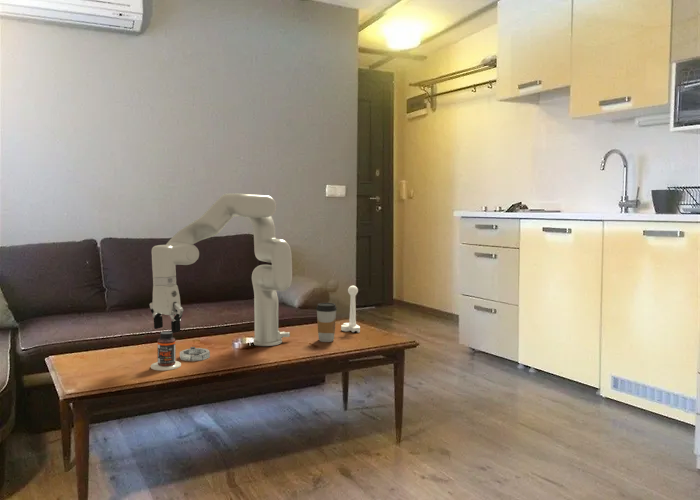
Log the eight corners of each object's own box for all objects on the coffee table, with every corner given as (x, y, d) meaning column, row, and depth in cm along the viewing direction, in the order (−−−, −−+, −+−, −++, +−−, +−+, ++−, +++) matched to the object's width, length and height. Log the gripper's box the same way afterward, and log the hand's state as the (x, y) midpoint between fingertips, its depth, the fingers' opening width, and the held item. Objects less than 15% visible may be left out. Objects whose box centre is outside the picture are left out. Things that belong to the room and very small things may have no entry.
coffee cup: (334, 343, 236) (334, 306, 235) (314, 342, 237) (314, 305, 236) (338, 338, 244) (338, 302, 243) (318, 337, 245) (318, 302, 244)
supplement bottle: (157, 367, 198) (157, 334, 197) (157, 362, 204) (156, 331, 203) (176, 366, 200) (175, 333, 199) (175, 361, 206) (174, 330, 205)
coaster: (179, 361, 209) (178, 359, 209) (182, 368, 199) (182, 366, 199) (149, 364, 205) (149, 362, 205) (152, 371, 195) (152, 370, 195)
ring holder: (206, 352, 220) (206, 345, 220) (211, 359, 211) (211, 352, 211) (178, 355, 216) (178, 348, 216) (182, 362, 207) (182, 355, 207)
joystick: (362, 332, 255) (362, 287, 254) (346, 333, 252) (346, 288, 251) (352, 327, 266) (352, 283, 264) (336, 328, 263) (337, 284, 261)
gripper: (189, 281, 197) (192, 331, 199) (158, 277, 208) (161, 324, 210) (171, 285, 191) (173, 336, 193) (140, 280, 202) (142, 328, 204)
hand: (167, 330), depth 201 cm, fingers open, 9 cm apart
